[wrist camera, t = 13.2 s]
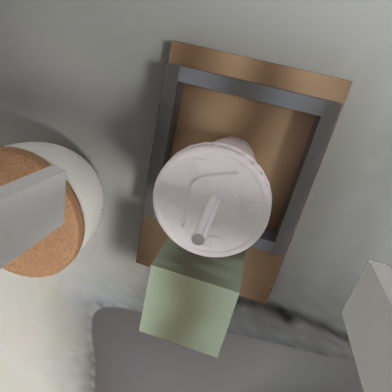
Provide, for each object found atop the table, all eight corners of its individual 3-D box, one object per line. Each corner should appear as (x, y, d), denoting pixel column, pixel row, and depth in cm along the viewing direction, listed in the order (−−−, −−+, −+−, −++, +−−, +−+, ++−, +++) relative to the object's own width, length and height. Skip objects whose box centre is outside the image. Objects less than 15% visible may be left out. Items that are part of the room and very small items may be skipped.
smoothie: (290, 154, 24) (309, 247, 11) (236, 211, 27) (204, 337, 14) (225, 100, 24) (171, 134, 11) (176, 163, 26) (89, 249, 14)
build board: (348, 80, 23) (393, 86, 14) (266, 295, 31) (263, 379, 22) (176, 41, 24) (125, 25, 16) (140, 255, 32) (94, 320, 24)
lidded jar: (57, 244, 34) (-14, 302, 26) (4, 152, 31) (-96, 183, 23) (141, 218, 31) (91, 274, 22) (89, 112, 28) (9, 129, 19)
